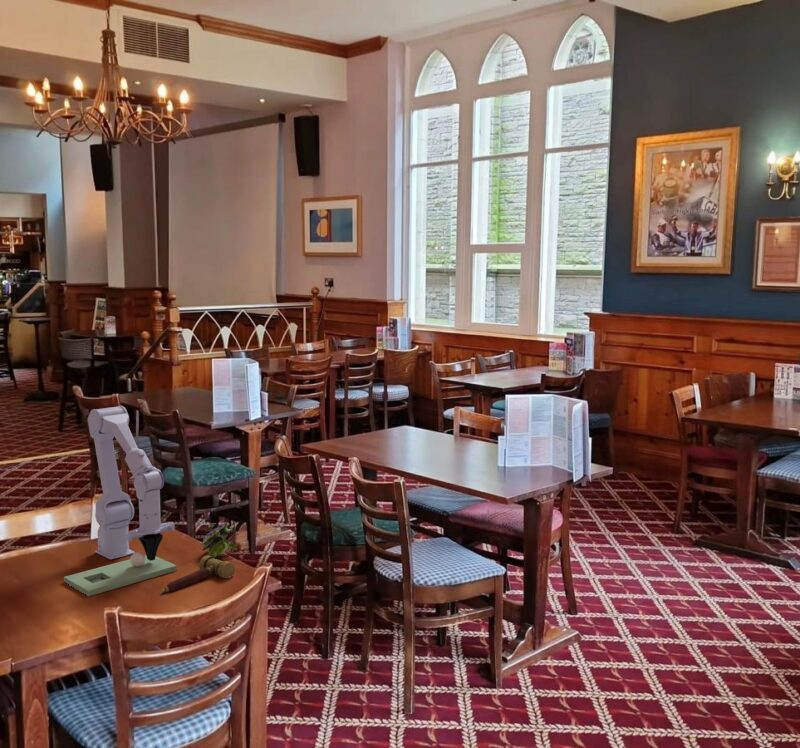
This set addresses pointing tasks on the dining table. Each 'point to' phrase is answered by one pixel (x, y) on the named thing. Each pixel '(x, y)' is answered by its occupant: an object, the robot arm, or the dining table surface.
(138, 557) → the ball
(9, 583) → the dining table surface
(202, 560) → the gavel
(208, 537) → the passion flower
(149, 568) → the putting mat
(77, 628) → the dining table surface
